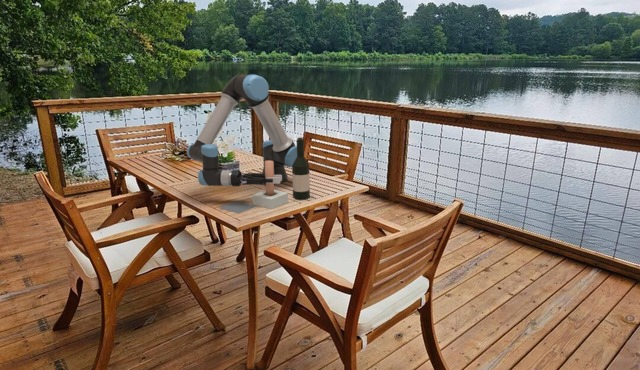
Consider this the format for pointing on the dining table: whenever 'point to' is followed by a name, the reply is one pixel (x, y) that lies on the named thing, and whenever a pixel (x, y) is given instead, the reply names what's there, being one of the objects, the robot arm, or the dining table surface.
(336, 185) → the dining table surface
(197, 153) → the robot arm
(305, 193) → the wine bottle
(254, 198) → the socket block
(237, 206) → the mat
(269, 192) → the dowel
